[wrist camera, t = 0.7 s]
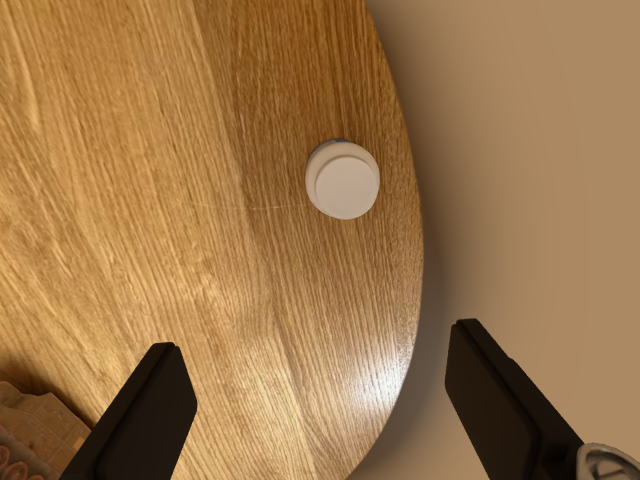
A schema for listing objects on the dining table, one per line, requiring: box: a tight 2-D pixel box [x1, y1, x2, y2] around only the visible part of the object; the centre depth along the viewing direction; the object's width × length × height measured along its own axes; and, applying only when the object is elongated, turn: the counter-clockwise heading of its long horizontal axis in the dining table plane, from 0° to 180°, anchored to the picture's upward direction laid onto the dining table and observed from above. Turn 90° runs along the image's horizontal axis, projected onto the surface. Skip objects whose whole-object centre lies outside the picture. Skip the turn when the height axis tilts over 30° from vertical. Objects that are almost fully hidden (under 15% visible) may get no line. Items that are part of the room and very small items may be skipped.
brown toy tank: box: [0, 381, 91, 480], centre depth 34 cm, size 13×20×10 cm, turn 15°
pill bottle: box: [305, 139, 380, 220], centre depth 23 cm, size 6×5×10 cm
